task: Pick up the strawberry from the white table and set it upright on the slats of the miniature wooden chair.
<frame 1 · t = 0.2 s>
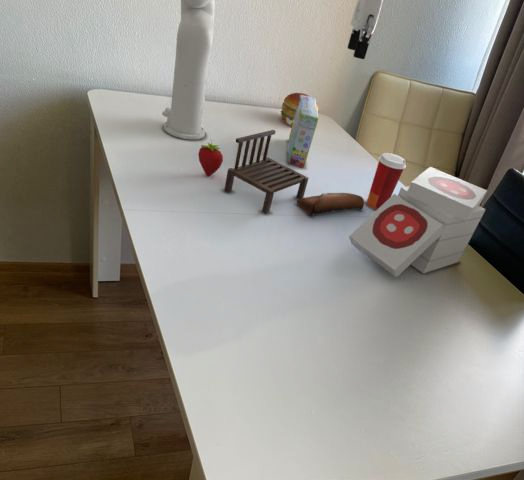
hand: (355, 53, 151), 31 cm above the table, tool pointing down, fingers open, 9 cm apart
pizza boxes: (405, 257, 133), on the table
miniature wooden chair: (264, 194, 142), on the table
strawberry: (207, 176, 143), on the table
burger: (296, 124, 193), on the table
paper cup: (375, 206, 152), on the table
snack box: (296, 154, 170), on the table
sunglasses case: (328, 208, 145), on the table
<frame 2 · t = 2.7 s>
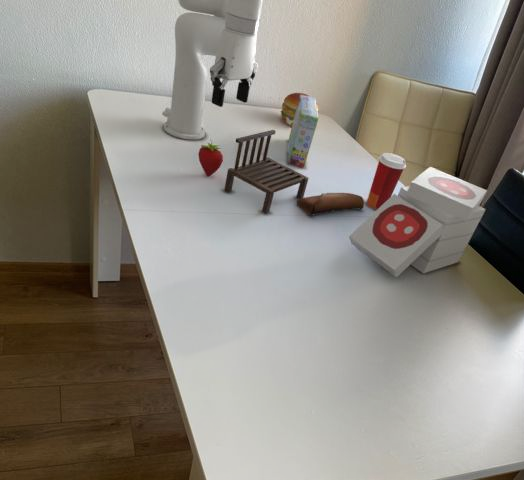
hand: (229, 102, 133), 19 cm above the table, tool pointing down, fingers open, 9 cm apart
nothing on the table moved.
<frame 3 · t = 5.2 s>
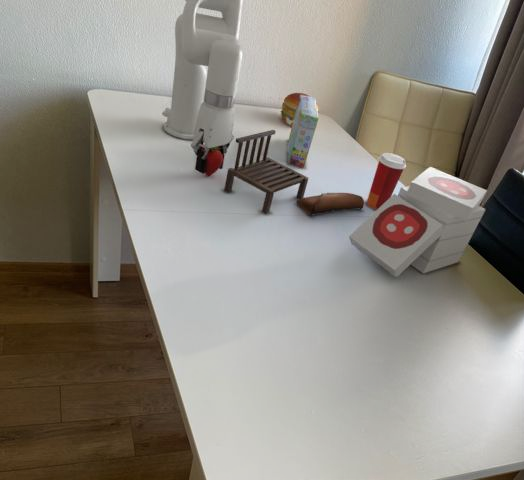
hand: (208, 168, 142), 2 cm above the table, tool pointing down, fingers closed on strawberry, 6 cm apart
strawberry: (207, 176, 143), on the table, touching gripper
everything else where it was.
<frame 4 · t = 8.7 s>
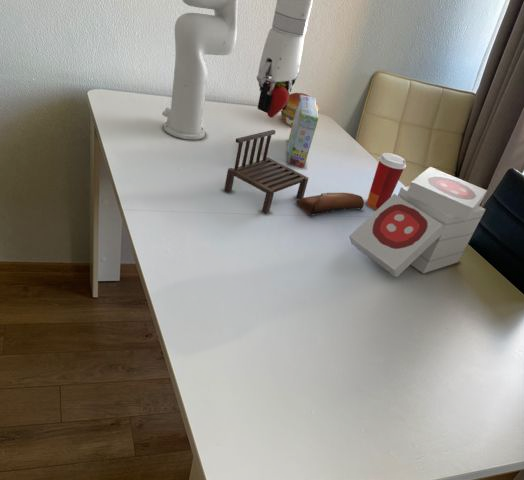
hand: (271, 108, 128), 22 cm above the table, tool pointing down, fingers closed on strawberry, 6 cm apart
strawberry: (269, 118, 130), point 19 cm above the table, touching gripper
everything else where it was.
when the fingers open (8 cm above the table, at t = 12.5 s): strawberry stays where it is, resting on miniature wooden chair.
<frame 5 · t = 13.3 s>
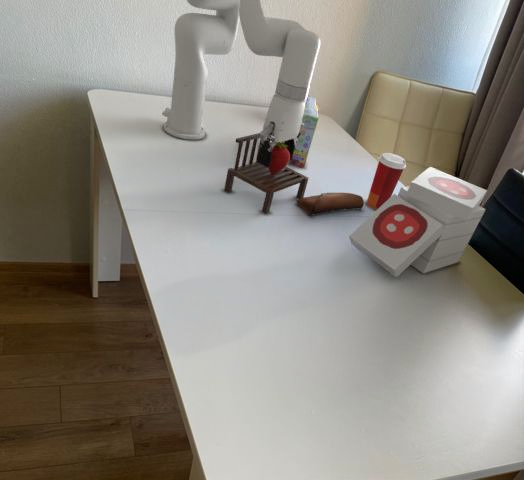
hand: (275, 161, 135), 10 cm above the table, tool pointing down, fingers open, 9 cm apart
strawberry: (272, 175, 138), point 6 cm above the table, touching miniature wooden chair
everything else where it was.
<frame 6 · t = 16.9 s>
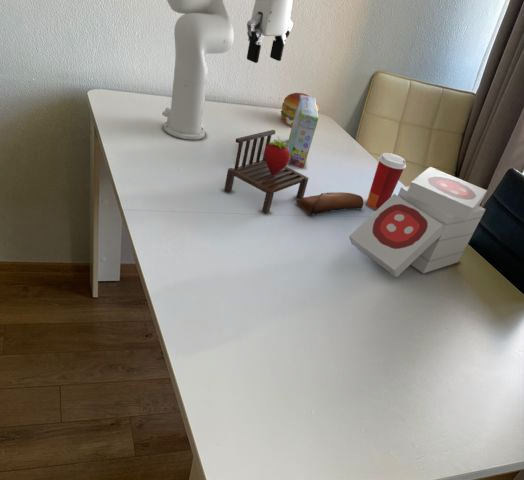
hand: (263, 60, 134), 28 cm above the table, tool pointing down, fingers open, 9 cm apart
nothing on the table moved.
at the end: strawberry inside the target area on the miniature wooden chair (0.8 cm from its centre), point 5.8 cm above the miniature wooden chair's base; strawberry tilted 0°; the gripper is holding nothing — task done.
